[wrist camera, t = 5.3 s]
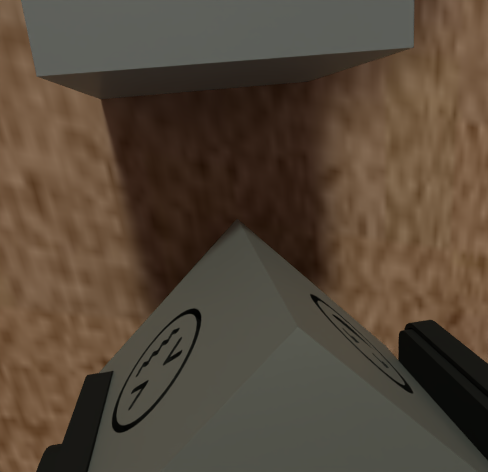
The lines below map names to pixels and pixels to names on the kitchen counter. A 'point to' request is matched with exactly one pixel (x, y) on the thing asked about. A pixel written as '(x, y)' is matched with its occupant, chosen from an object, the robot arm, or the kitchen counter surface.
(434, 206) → the kitchen counter surface
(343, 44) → the light gray cube
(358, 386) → the dice cube
